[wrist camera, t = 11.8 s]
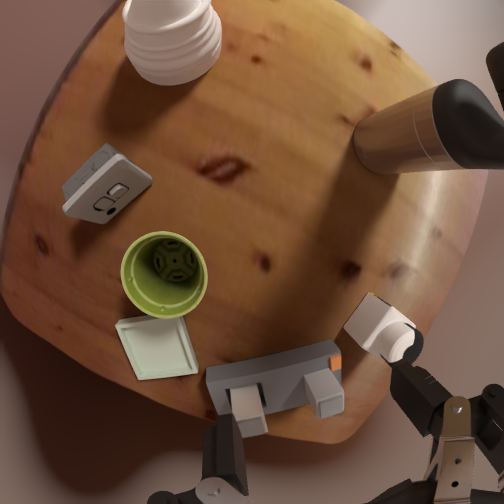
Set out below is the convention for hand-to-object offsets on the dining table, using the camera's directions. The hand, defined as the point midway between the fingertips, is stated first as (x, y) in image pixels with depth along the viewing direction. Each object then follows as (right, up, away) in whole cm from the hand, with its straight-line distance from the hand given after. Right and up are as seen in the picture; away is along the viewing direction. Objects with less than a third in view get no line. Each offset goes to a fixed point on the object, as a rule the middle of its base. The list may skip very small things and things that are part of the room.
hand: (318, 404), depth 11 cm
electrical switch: (-21, +16, +22) cm, 34 cm away
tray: (-17, -6, +27) cm, 32 cm away
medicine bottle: (+16, -4, +30) cm, 34 cm away
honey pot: (-14, +36, +19) cm, 43 cm away
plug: (-4, -14, +29) cm, 32 cm away
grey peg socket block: (0, -13, +30) cm, 33 cm away
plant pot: (-13, +6, +25) cm, 29 cm away
